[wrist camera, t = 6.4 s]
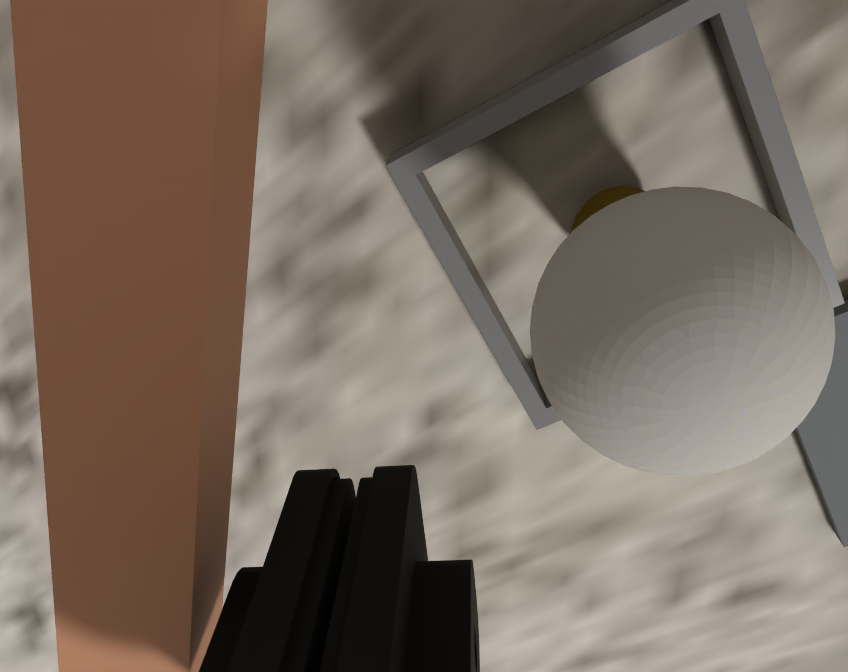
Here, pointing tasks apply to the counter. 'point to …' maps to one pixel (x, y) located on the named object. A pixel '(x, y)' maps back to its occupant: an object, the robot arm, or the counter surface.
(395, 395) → the counter surface
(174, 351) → the tan bar
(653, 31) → the square frame
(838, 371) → the mat
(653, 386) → the light bulb
